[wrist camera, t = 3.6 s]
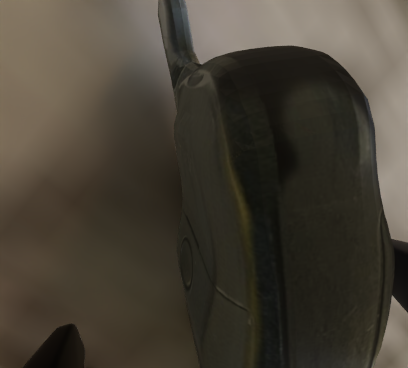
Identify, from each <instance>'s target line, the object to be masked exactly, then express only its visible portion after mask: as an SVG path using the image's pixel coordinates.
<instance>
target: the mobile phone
mask: <svg viewBox="0 0 408 368" xmlns="http://www.w3.org/2000/svg"><path fill="white" fill-rule="evenodd" d="M158 17H159V23H160V28H161V33H162V39H163V44H164V49H165V53H166V58H167V62H168V67H169V71H170V76H171V80H172V86H173V91H174V97H175V103H176V109H177V115H176V119H175V124H174V140H175V146H176V153H177V160H178V166H179V171H180V177H181V183H182V191H183V204H182V214H181V221H180V226H179V233H178V241H177V254H178V262H179V268H180V273H181V278H182V283H183V288H184V293H185V298H186V303H187V308H188V313H189V318H190V323H191V328H192V332H193V337H194V342H195V346H196V351H197V355H198V360H199V364H200V368H373V367H374V364H375V361H376V358H377V356H378V353H379V351H380V349H381V345H382V341H383V337H384V333H385V330H386V325H387V321H388V316H389V310H390V304H391V297H392V290H393V281H394V268H395V255H394V247H393V244H392V241H391V237H390V233H389V228H388V224H387V221H386V218H385V215H384V210H383V205H382V200H381V195H380V188H379V181H378V174H377V162H376V144H375V129H374V123H373V119H372V115H371V111H370V107H369V103H368V99H367V98H366V96H365V95H364V93H363V92H362V90H361V89H360V87H359V86H358V85H357V83H356V82H355V80H354V79H353V78H352V77H351V76H350V74H349V73H348V72H347V71H346V70H345V69H344V68H343V67H342V66H341V65H340V64H339V63H338V62H337V61H335V60H334V59H333V58H331V57H330V56H329V55H327V54H325V53H323V52H320V51H316V50H312V49H308V48H303V47H298V46H274V47H264V48H255V49H248V50H242V51H236V52H232V53H228V54H225V55H221V56H218V57H215V58H213V59H211V60H209V61H208V62H206V63H204V64H203V65H202V64H200V63H199V61H198V59H197V57H196V54H195V52H194V49H193V42H192V36H191V30H190V23H189V18H188V12H187V6H186V2H185V0H159V4H158Z"/></svg>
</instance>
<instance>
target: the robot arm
mask: <svg viewBox="0 0 408 368" xmlns="http://www.w3.org/2000/svg"><path fill="white" fill-rule="evenodd" d="M391 241H392V244H393V247H394V255H395V268H394V281H393V290H392V295H393V296H394V298H395V299H396V300H397V301H398V302H399V303H400V305H401V306H402V307H403V308H404V309H405V310H406V311H407V312H408V243H407V242H403V241H398V240H394V239H391ZM84 362H85V349H84V345H83V342H82V340H81V337H80V335H79V332H78V330H77V327H76V326H75V324H68V325H64V326H61V327H58V328H57V329H56V330H55V331H54V332H53V333H52V334H51V335H50V336H49V338H48V339H47V340H46V341H45V342H44V343H43V345H42V346H41V347H40V348H39V349H38V350H37V351H36V353H35V354H34V355H33V356H32V357H31V358H30V360H29V361H28V362H27V363H26V364H25V365H24V366H23V368H84Z"/></svg>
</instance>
